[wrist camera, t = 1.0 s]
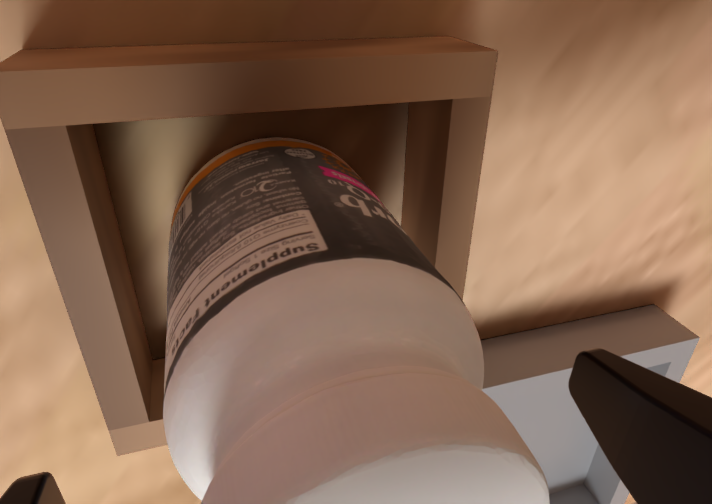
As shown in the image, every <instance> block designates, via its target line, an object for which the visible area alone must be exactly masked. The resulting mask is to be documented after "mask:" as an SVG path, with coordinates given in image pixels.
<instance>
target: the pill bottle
mask: <svg viewBox="0 0 712 504" xmlns="http://www.w3.org/2000/svg"><path fill="white" fill-rule="evenodd" d="M483 381H484V358H483V350H482V345H481V341H480V338H479V334H478V331H477V329H476V326H475V324H474V322H473V319H472V317H471V315H470V313H469V311H468V309H467V308H466V306H465V304H464V303H463V301H462V299H461V298H460V296H459V295H458V294H457V292H456V291H455V290H454V288H453V287H452V286H451V285H450V283H449V282H448V281H447V280H446V279H445V278H444V277H443V276H442V275H441V274H440V273H439V272H438V271H437V269H436V268H435V267H434V266H433V265H432V264H431V262H430V261H429V260H428V259H427V257H426V256H425V255H424V254H423V253H422V252H421V251H420V250H419V249H418V247H417V246H416V245H415V244H414V242H413V241H412V240H411V238H410V237H409V236H408V235H407V234H406V232H405V231H404V230H403V229H402V227H401V226H400V225H399V223H398V222H397V221H396V220H395V219H394V217H393V216H392V214H391V213H390V212H389V211H388V210H387V209H386V208H385V206H384V205H383V204H382V203H381V201H380V200H379V198H378V197H377V196H376V195H375V194H374V193H373V192H372V190H371V189H370V188H369V187H368V186H367V185H366V184H365V182H364V181H363V180H362V179H361V178H360V177H359V175H358V174H357V173H356V172H355V171H354V170H353V169H352V168H351V167H350V166H349V165H348V164H347V163H346V162H345V161H344V160H342V159H341V158H340V157H338V156H337V155H335V154H334V153H333V152H331V151H329V150H327V149H326V148H324V147H321V146H319V145H316V144H313V143H311V142H308V141H303V140H299V139H293V138H281V137H272V138H265V139H256V140H252V141H249V142H245V143H242V144H239V145H237V146H234V147H232V148H230V149H228V150H225V151H224V152H222V153H220V154H219V155H217V156H216V157H214V158H213V159H211V160H210V161H209V162H208V163H206V164H205V165H204V166H203V167H202V168H201V169H200V170H199V171H198V172H197V173H196V174H195V175H194V176H193V177H192V179H191V180H190V181H189V183H188V184H187V185H186V187H185V189H184V190H183V192H182V194H181V196H180V198H179V200H178V203H177V205H176V208H175V211H174V214H173V219H172V224H171V231H170V241H169V261H168V285H167V336H166V357H165V379H164V399H163V422H164V430H165V435H166V440H167V444H168V448H169V451H170V455H171V457H172V460H173V462H174V465H175V467H176V468H177V470H178V472H179V474H180V476H181V477H182V479H183V480H184V482H185V483H186V484H187V486H188V487H189V488H190V489H191V491H192V492H193V493H194V494H195V495H196V496H197V497H198V498H199V499H200V500H201V501H202V502H201V504H550V500H549V490H548V484H547V481H546V478H545V475H544V473H543V471H542V469H541V467H540V466H539V464H538V462H537V460H536V459H535V457H534V456H533V454H532V453H531V451H530V450H529V448H528V447H527V445H526V444H525V442H524V441H523V439H522V438H521V436H520V435H519V433H518V432H517V430H516V429H515V427H514V426H513V424H512V423H511V422H510V420H509V419H508V418H507V416H506V415H505V414H504V412H503V411H502V410H501V408H500V407H499V406H498V405H497V404H496V403H495V402H494V400H492V399H491V398H490V397H489V396H488V395H487V394H485V393H484V392H483V391H482V388H483Z"/></svg>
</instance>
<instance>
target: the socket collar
mask: <svg viewBox="0 0 712 504" xmlns="http://www.w3.org/2000/svg"><path fill="white" fill-rule="evenodd" d="M497 55H498V51H497V50H494V49H490V48H487V47H484V46H480V45H477V44H474V43H470V42H467V41H463V40H460V39H457V38H453V37H450V36H432V37H401V38H370V39H339V40H308V41H277V42H246V43H215V44H184V45H153V46H122V47H91V48H60V49H29V50H20V51H18V52H17V53H15V54H14V55H12V56H10V57H9V58H7V59H6V60H4V61H2V62H1V63H0V118H1V121H2V123H3V126H4V129H5V132H6V135H7V138H8V141H9V144H10V147H11V149H12V152H13V155H14V158H15V161H16V164H17V167H18V170H19V173H20V176H21V178H22V181H23V184H24V187H25V190H26V193H27V196H28V199H29V202H30V204H31V207H32V210H33V213H34V216H35V219H36V222H37V225H38V228H39V231H40V233H41V236H42V239H43V242H44V245H45V248H46V251H47V254H48V257H49V259H50V262H51V265H52V268H53V271H54V274H55V277H56V280H57V283H58V286H59V288H60V291H61V294H62V297H63V300H64V303H65V306H66V309H67V312H68V315H69V317H70V320H71V323H72V326H73V329H74V332H75V335H76V338H77V341H78V343H79V346H80V349H81V352H82V355H83V358H84V361H85V364H86V367H87V370H88V372H89V375H90V378H91V381H92V384H93V387H94V390H95V393H96V396H97V398H98V401H99V404H100V407H101V410H102V413H103V416H104V419H105V422H106V425H107V427H108V430H109V433H110V436H111V439H112V442H113V445H114V448H115V451H116V454H117V456H120V455H124V454H129V453H133V452H137V451H142V450H146V449H151V448H155V447H159V446H164V445H168V444H167V440H166V435H165V430H164V422H163V399H164V379H165V358H162V359H157V360H152V356H151V352H150V348H149V344H148V340H147V336H146V332H145V328H144V324H143V321H142V317H141V313H140V309H139V305H138V301H137V297H136V293H135V289H134V285H133V281H132V277H131V273H130V270H129V266H128V262H127V258H126V254H125V250H124V246H123V242H122V238H121V234H120V230H119V226H118V222H117V219H116V215H115V211H114V207H113V203H112V199H111V195H110V191H109V187H108V183H107V179H106V175H105V171H104V168H103V164H102V160H101V156H100V152H99V148H98V144H97V140H96V136H95V132H94V128H93V124H95V123H109V122H124V121H139V120H153V119H168V118H183V117H198V116H212V115H227V114H242V113H256V112H271V111H286V110H300V109H315V108H330V107H344V106H359V105H374V104H388V103H403V102H409V112H408V128H407V144H406V160H405V176H404V192H403V208H402V224H401V227H402V229H403V230H404V231H405V232H406V234H407V235H408V236H409V237H410V238H411V240H412V241H413V242H414V244H415V245H416V246H417V247H418V249H419V250H420V251H421V252H422V253H423V254H424V255H425V256H426V257H427V259H428V260H429V261H430V262H431V264H432V265H433V266H434V267H435V268H436V269H437V271H438V272H439V273H440V274H441V275H442V276H443V277H444V278H445V279H446V280H447V281H448V282H449V283H450V285H451V286H452V287H453V288H454V290H455V291H456V292H457V294H458V295H459V296H460V298H461V299H462V300H463V293H464V286H465V279H466V272H467V265H468V258H469V251H470V244H471V237H472V230H473V223H474V216H475V209H476V202H477V195H478V188H479V181H480V174H481V167H482V160H483V153H484V146H485V139H486V132H487V125H488V118H489V111H490V104H491V97H492V90H493V83H494V76H495V69H496V62H497Z"/></svg>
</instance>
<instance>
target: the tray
mask: <svg viewBox="0 0 712 504" xmlns="http://www.w3.org/2000/svg"><path fill="white" fill-rule="evenodd" d="M699 338H700V337H698V336H697V335H696V334H694V333H693V332H691V331H690V330H689V329H687V328H686V327H685V326H683V325H682V324H680V323H679V322H678V321H676V320H675V319H674V318H672V317H671V316H670V315H668V314H667V313H665V312H664V311H663V310H661V309H660V308H659V307H657V306H656V305H654V304H653V305H648V306H643V307H639V308H634V309H629V310H624V311H619V312H615V313H610V314H605V315H600V316H595V317H591V318H586V319H581V320H576V321H571V322H567V323H562V324H557V325H552V326H547V327H543V328H538V329H533V330H528V331H523V332H519V333H514V334H509V335H504V336H499V337H495V338H490V339H485V340H480V341H481V345H482V350H483V358H484V381H483V388H482V391H483V392H484V393H485V394H487V395H488V396H489V397H490V398H491V399H492V400H494V402H495V403H496V404H497V405H498V406H499V407H500V408H501V410H502V411H503V412H504V414H505V415H506V416H507V418H508V419H509V420H510V422H511V423H512V424H513V426H514V427H515V429H516V430H517V432H518V433H519V435H520V436H521V438H522V439H523V441H524V442H525V444H526V445H527V447H528V448H529V450H530V451H531V453H532V454H533V456H534V457H535V459H536V460H537V462H538V464H539V466H540V467H541V469H542V471H543V473H544V475H545V478H546V481H547V484H548V490H549V500H550V504H624V503H625V501H626V499H627V497H628V494H629V491H628V490H627V488H626V487H625V485H624V484H623V482H622V481H621V480H620V478H619V477H618V475H617V474H616V472H615V471H614V469H613V468H612V466H611V464H610V463H609V461H608V459H607V458H606V456H605V454H604V453H603V451H602V449H601V447H600V446H599V444H598V442H597V440H596V439H595V437H594V435H593V433H592V432H591V430H590V428H589V426H588V425H587V423H586V421H585V419H584V418H583V416H582V414H581V412H580V411H579V409H578V407H577V405H576V404H575V402H574V400H573V398H572V397H571V394H570V392H569V387H568V382H569V378H570V375H571V372H572V368H573V365H574V362H575V359H576V356H577V354H578V353H579V352H581V351H584V350H588V349H593V348H602V349H605V350H607V351H609V352H611V353H614V354H616V355H618V356H620V357H622V358H625V359H627V360H629V361H631V362H634V363H636V364H638V365H640V366H642V367H645V368H647V369H649V370H651V371H653V372H656V373H658V374H660V375H662V376H665V377H667V378H669V379H671V380H673V381H676V382H678V383H679V382H680V380H681V378H682V376H683V374H684V371H685V369H686V367H687V365H688V363H689V360H690V358H691V356H692V354H693V352H694V349H695V347H696V345H697V343H698V341H699Z"/></svg>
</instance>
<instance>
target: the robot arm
mask: <svg viewBox="0 0 712 504" xmlns="http://www.w3.org/2000/svg"><path fill="white" fill-rule="evenodd" d="M568 387H569V392H570V394H571V397H572V398H573V400H574V402H575V404H576V405H577V407H578V409H579V411H580V412H581V414H582V416H583V418H584V419H585V421H586V423H587V425H588V426H589V428H590V430H591V432H592V433H593V435H594V437H595V439H596V440H597V442H598V444H599V446H600V447H601V449H602V451H603V453H604V454H605V456H606V458H607V459H608V461H609V463H610V464H611V466H612V468H613V469H614V471H615V472H616V474H617V475H618V477H619V478H620V480H621V481H622V482H623V484H624V485H625V487H626V488H627V490H628V491H629V492H630V494H631V495H632V497H633V498H634V500H635V501H636V502H637V504H712V398H711V397H709V396H707V395H705V394H702V393H700V392H698V391H696V390H693V389H691V388H689V387H687V386H685V385H682V384H680V383H678V382H676V381H673V380H671V379H669V378H667V377H665V376H662V375H660V374H658V373H656V372H653V371H651V370H649V369H647V368H645V367H642V366H640V365H638V364H636V363H634V362H631V361H629V360H627V359H625V358H622V357H620V356H618V355H616V354H614V353H611V352H609V351H607V350H605V349H602V348H593V349H588V350H584V351H581V352H579V353H578V354H577V356H576V359H575V362H574V365H573V368H572V372H571V375H570V378H569V382H568ZM0 504H66V503H65V501H64V499H63V497H62V495H61V492H60V490H59V488H58V486H57V484H56V481H55V479H54V477H53V476H52V474H50V473H49V472H42V473H38V474H33V475H29V476H24V477H21V478H19V479H17V480H16V481H14V482H13V483H12V484H11V486H10V487H9V488H8V489H7V490H6V492H5V493H4V494H3V495H2V497H1V498H0Z"/></svg>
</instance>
